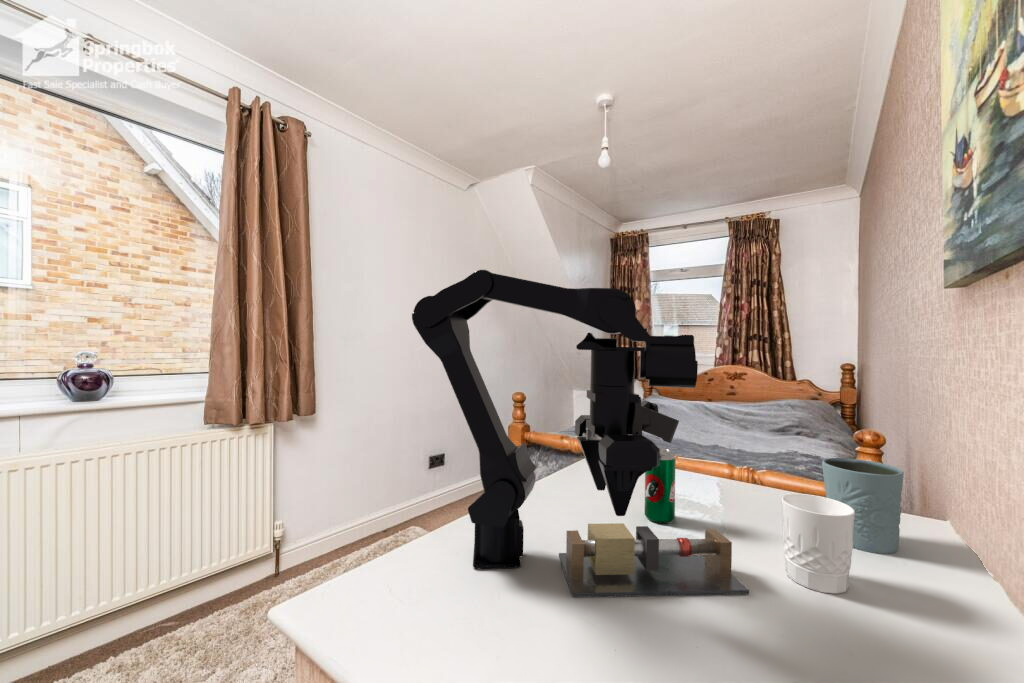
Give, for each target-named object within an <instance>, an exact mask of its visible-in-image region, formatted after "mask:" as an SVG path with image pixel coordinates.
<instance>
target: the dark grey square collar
mask: <svg viewBox="0 0 1024 683" xmlns="http://www.w3.org/2000/svg"><path fill="white" fill-rule="evenodd" d="M640 539H644V541H645V556H637V558H638V559H639V561H640V562H641V564H642V565H643V566H644V568H645V569H646V571H651V570H659V538H658V536H656V534H655V533H654V532H653V530H651V528H650V527H649V526H646V525H645V526H644V525H643V526H637V525H636V526H635V540H640Z"/></svg>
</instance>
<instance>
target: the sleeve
mask: <svg viewBox="0 0 1024 683" xmlns="http://www.w3.org/2000/svg"><path fill="white" fill-rule="evenodd" d="M587 540H594V541H595V557H588V559H589V562H590V564H591V566H592V568H593V570H594V572H595V575H623V574H634V549H635V540H636V537H635V536H634V535H633V534H632V533H631V531H630V530H629V529H628V528H627V526H626V525H625V524H624V523H620V522H619V523H617V522H616V523H587Z"/></svg>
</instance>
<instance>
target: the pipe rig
mask: <svg viewBox="0 0 1024 683" xmlns="http://www.w3.org/2000/svg"><path fill="white" fill-rule="evenodd" d="M658 539H659V538H658ZM565 542H566V543H565V544H566V547H565V548H566V549H565V550H566V551H565V552H558V557H559V560H560V564H561V566H562V570H563V572H564V573H563V574H564V576H565V578H566V579H565V580H566V582H567V584H568V588H569V590H570V595H571V597H572V598H598V597H599V598H600V597H601V598H605V597H607V598H609V597H612V598H613V597H649V596H650V597H660V596H661V597H663V596H664V597H665V596H713V595H715V596H717V595H719V596H720V595H721V596H722V595H723V596H724V595H726V596H727V595H749V593H750V590H749V588H748V587H746V585H744V583H742V582H741V581H740V580H739V579H738V577H736V576H735V575H734V574H733V573H732V557H733V554H732V551H733V550H732V548H733V546H732V545H733V543H732V541H731V540H729V539H728V538H727V537H726V536H725V535H723V534H722V533H721V532H719V531H718V530H717V529H715V528H714V529H713V528H711V529H710V528H709V529H707V528H705V530H704V538H688V537H676V538H670V539H669V538H668V539H667V538H665V539H664V538H661V539H659V570H651V571H646V569H645V568H644V566H643V565H642V564H641V562H640V561H639V559H638V558H637V556H645V541H644V539H640V540H636V539H635V549H634V574H623V575H595V572H594V570H593V568H592V566H591V564H590V562H589V559H588V557H595V541H594V540H588V539H582V536H581V535H580V533H579V531H578V530H566V541H565Z"/></svg>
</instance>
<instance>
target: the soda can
mask: <svg viewBox="0 0 1024 683" xmlns="http://www.w3.org/2000/svg"><path fill="white" fill-rule="evenodd" d="M658 448H659V447H658ZM659 449H660V465H659V466H657V467H654V468H653V469H652V470H651V471H646V472H645V473H644V516H645V518H647V519H648V520H649V521H650V522H652V523H656V524H662V525H664V524H670V523H672V522H673V521H674V520H675V518H676V457H675V455H674V451H673V450H671V449H667V448H662V447H661V448H659Z"/></svg>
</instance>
